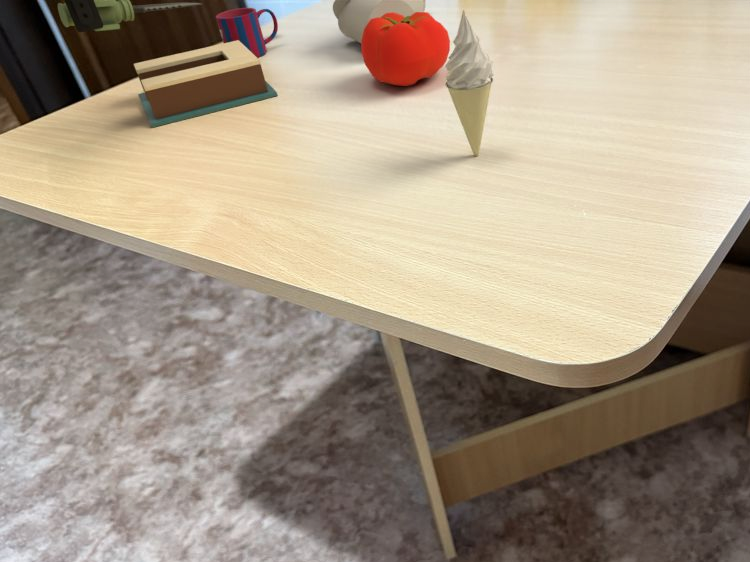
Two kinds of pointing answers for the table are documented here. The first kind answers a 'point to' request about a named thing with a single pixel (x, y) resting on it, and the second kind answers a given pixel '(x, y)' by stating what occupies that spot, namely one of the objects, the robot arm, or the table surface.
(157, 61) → the tissue dispenser
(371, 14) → the bent grey cylinder
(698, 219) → the table surface
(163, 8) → the knife
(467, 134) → the ice cream cone
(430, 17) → the tomato
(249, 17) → the mug
